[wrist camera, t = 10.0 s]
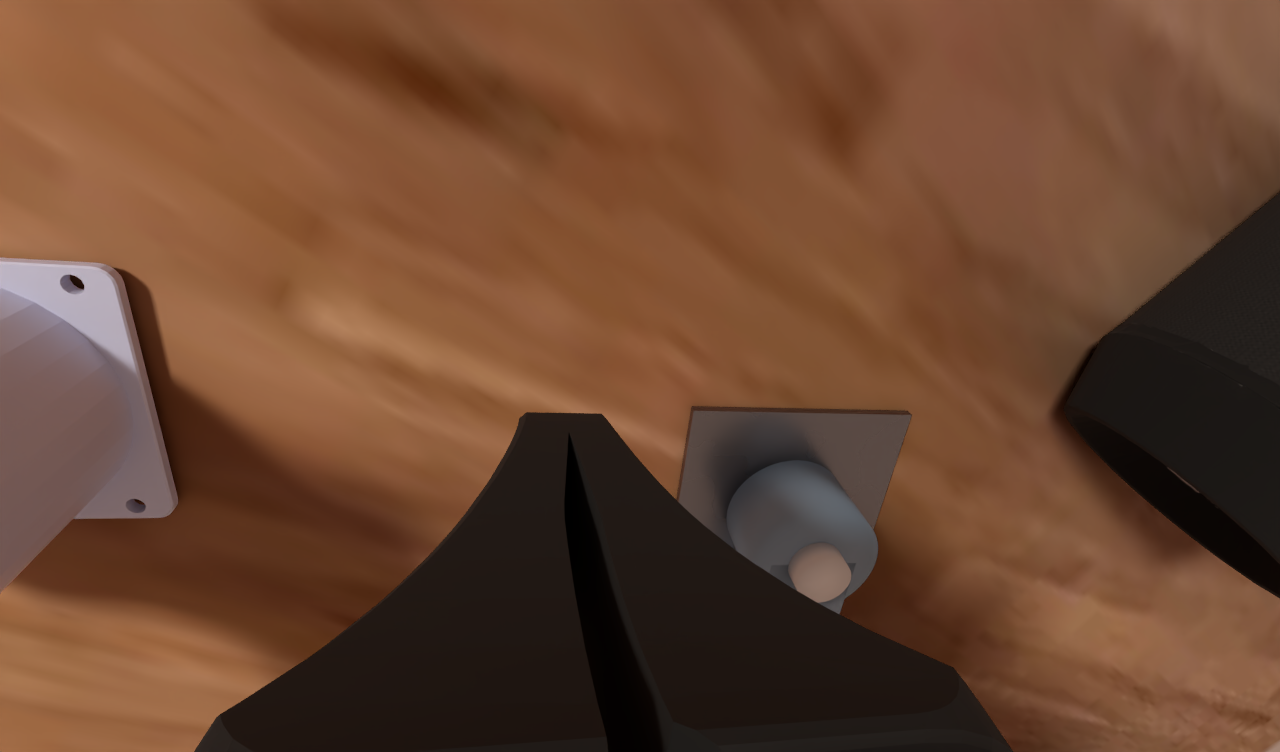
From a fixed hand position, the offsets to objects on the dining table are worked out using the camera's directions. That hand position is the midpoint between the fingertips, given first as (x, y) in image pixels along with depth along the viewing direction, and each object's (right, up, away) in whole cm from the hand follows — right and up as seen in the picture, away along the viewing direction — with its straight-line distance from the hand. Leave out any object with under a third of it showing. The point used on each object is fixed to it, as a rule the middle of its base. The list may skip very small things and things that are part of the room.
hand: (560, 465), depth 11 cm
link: (+6, -9, +15) cm, 19 cm away
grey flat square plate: (+7, -3, +13) cm, 15 cm away
